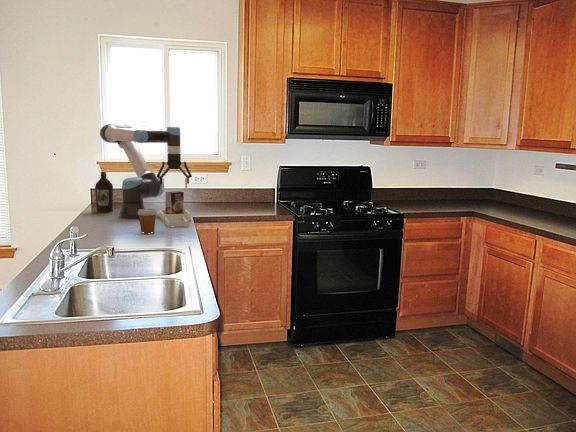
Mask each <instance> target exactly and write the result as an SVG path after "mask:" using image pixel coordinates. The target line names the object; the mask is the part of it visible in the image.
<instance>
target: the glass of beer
mask: <svg viewBox="0 0 576 432" xmlns="http://www.w3.org/2000/svg"><path fill="white" fill-rule="evenodd" d="M157 212H158V211H157V210H156V209H155V208H145V209H140V210H138V215H139V218H138V219H139V225H140V233H141V232H144V233H151V232H154V233H155V227H156V217H157Z"/></svg>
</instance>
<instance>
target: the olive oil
mask: <svg viewBox="0 0 576 432" xmlns="http://www.w3.org/2000/svg"><path fill="white" fill-rule="evenodd" d="M94 193H95V202H96V212H97V213H112V212H114V211H113V210H114V209H113V206H114V198H113V197H114V196H113V195H114V186H113V183H112V182H111V181H110V180H109V179H108V178H107V172H106V171H100V177H99V180H97V182H96V183H95V185H94Z"/></svg>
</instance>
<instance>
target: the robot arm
mask: <svg viewBox="0 0 576 432" xmlns="http://www.w3.org/2000/svg"><path fill="white" fill-rule="evenodd" d="M99 135H100V138H101V139H102V140H103V141H104V142H105V143H109V144H117V145H118V147H119V148H120V149H123V151H124V153H125V155H126V157H127V159H128V161H129V163H130V164H131V167H132V168H133V170H134V172H135V174H136V176H134V177H128V178H124V179H123V180H122V184H121V185H122V186H121V189H122V207H121V210H120V213H119V214H120V215H119V217H120V218H122V219H127V220H128V219H130V220H131V219H133V220H134V219H139V215H138V210H140V209H146V208H145V205H144V199H149V198H157V197H160V196H162V195H163V194H164V190H165V181H164V180H165V179H164V176H166V175H167V173H168V172H169V171H170V170H180V172H181V173H182V174H183V175H184V177H185V178H184V183H185V185H184V186H185V187H184V189H185V190H188V184H190V178H192V177H193V175H192V173H191V171H190V170H189V167H188V166H187V162H186V161H182V157H181V155H182V154H181V128H180V126H167V127H166V129H142V128H135V126H133V125H131V124H127V123H126V124H125V123H123V124H122V123H121V124H119V123H116V124H115V123H108V124H105V125H103V126H102V127H101V128H100V130H99ZM138 143H139V144H148V143H150V144H151V143H154V144H155V143H165V144H166V149H167V154H166V155H167V161H162V162H161V165H160V168H159V170H158V172H157V174H155V172H153V171H151V169H150V168H149V165H148V163H147V161H146V160H145V158H144V156H143V154H142V152H141V151H140V149H139V146H138V145H137V144H138ZM166 165H167V168H166V169H165V170H164V171H163V169H164V168H165V166H166ZM181 166H184V169H185V170H184V169H183V168H182V167H181ZM186 172H187V173H186Z"/></svg>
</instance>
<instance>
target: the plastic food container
mask: <svg viewBox="0 0 576 432" xmlns="http://www.w3.org/2000/svg"><path fill="white" fill-rule="evenodd" d="M158 211H159V213H158V215H159V219H160V220H161V221H162V222H163V221H165V220H164V218H170V217H184V218H185V219H186V220H187V221H188V222H189V221H191V217H192V216H191V212H189V210H187V209H186V208H184V214H166V209H159V210H158Z"/></svg>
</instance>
